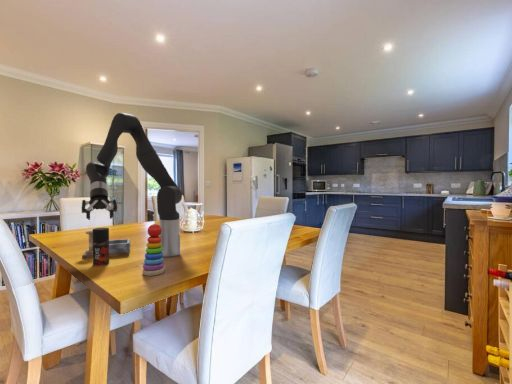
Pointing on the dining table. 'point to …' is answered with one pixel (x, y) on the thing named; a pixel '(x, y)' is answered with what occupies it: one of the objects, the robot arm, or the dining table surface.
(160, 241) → the robot arm
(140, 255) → the dining table surface
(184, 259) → the dining table surface
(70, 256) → the dining table surface
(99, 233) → the deodorant
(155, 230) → the stacking toy
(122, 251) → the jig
